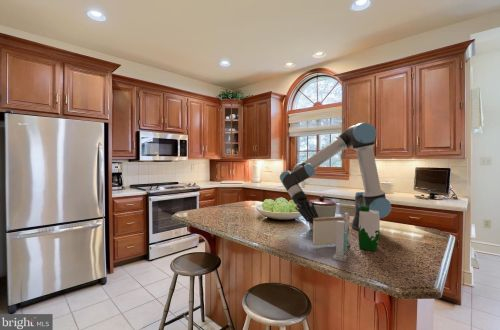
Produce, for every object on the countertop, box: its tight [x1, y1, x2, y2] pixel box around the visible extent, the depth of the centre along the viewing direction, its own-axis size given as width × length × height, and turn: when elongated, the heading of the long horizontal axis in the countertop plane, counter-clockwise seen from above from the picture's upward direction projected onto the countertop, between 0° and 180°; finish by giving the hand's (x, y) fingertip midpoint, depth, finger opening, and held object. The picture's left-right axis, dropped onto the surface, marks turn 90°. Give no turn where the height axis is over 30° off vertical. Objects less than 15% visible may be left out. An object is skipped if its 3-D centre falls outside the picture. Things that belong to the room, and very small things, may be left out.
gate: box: [312, 216, 344, 247], centre depth 123 cm, size 16×2×13 cm, turn 107°
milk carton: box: [358, 206, 381, 252], centre depth 122 cm, size 9×9×20 cm
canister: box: [308, 195, 338, 232], centre depth 151 cm, size 18×18×21 cm
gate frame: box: [332, 212, 351, 263], centre depth 117 cm, size 25×5×16 cm, turn 152°
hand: (321, 232), depth 126 cm, fingers closed
